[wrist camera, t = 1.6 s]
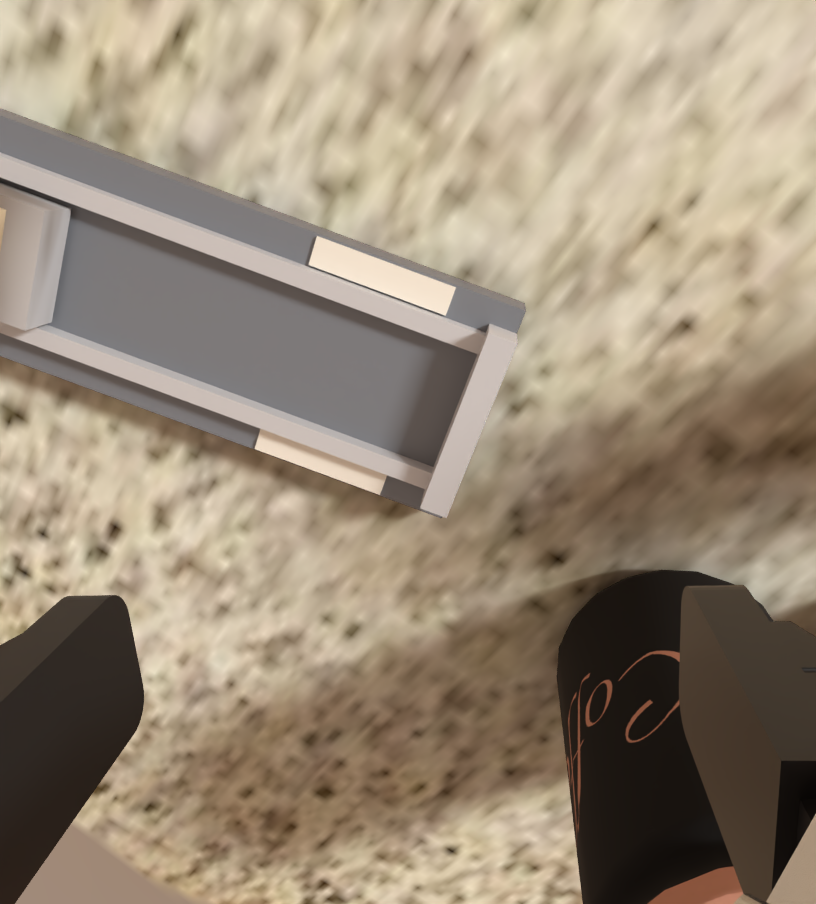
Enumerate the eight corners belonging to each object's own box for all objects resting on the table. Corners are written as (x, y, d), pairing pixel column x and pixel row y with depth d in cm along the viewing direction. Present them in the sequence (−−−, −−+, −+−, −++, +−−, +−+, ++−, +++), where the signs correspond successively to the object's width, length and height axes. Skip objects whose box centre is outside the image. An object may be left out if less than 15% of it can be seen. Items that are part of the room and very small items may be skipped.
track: (-110, 296, 36) (-180, 310, 33) (-89, 75, 33) (-165, 62, 29) (444, 500, 37) (438, 537, 33) (524, 303, 33) (527, 319, 29)
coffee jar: (629, 520, 36) (743, 822, 19) (823, 621, 37) (1100, 1000, 20) (515, 683, 40) (527, 1057, 23) (694, 773, 40) (834, 1201, 23)
